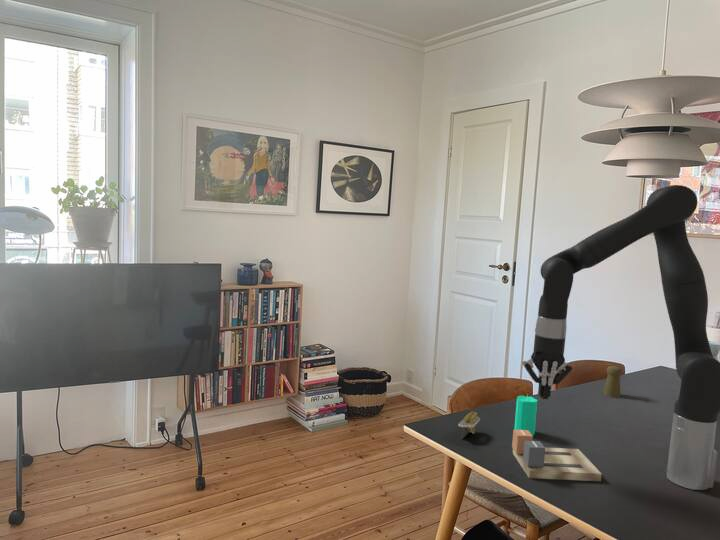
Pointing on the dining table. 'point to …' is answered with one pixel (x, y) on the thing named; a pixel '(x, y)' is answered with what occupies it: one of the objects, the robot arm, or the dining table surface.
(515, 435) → the block
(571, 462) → the panel
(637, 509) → the dining table surface
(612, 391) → the cork
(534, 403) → the candle
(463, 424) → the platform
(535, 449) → the fader
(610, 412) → the dining table surface
